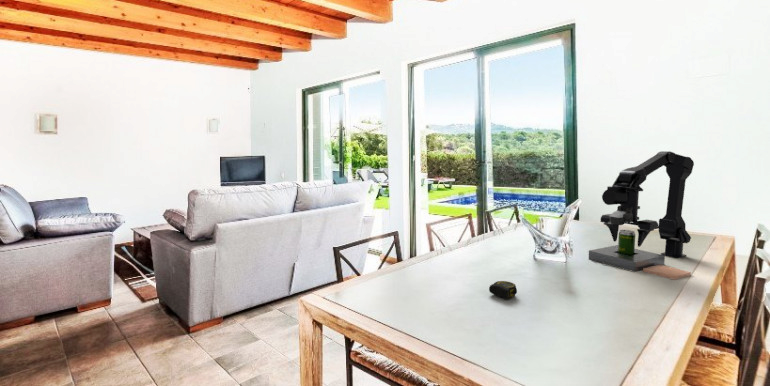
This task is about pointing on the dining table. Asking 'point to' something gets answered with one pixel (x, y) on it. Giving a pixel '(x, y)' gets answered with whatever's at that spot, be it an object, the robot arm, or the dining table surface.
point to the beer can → (626, 242)
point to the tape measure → (503, 289)
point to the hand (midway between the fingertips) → (626, 243)
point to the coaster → (667, 271)
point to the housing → (626, 258)
